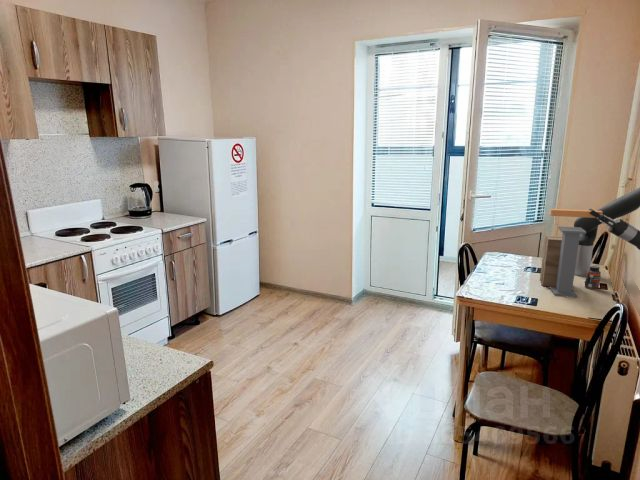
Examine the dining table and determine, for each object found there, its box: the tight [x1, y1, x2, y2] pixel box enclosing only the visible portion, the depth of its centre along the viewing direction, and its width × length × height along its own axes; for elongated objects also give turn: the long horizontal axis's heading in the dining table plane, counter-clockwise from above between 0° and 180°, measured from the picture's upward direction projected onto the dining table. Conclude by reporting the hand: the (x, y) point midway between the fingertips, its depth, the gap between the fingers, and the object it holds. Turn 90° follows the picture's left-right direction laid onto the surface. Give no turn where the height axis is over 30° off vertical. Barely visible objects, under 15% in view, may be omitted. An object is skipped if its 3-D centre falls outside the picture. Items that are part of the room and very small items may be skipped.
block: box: [549, 208, 603, 218], centre depth 209 cm, size 3×22×3 cm, turn 71°
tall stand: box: [549, 225, 586, 298], centre depth 208 cm, size 10×10×32 cm
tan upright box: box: [539, 234, 562, 288], centre depth 221 cm, size 10×12×25 cm
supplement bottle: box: [584, 265, 602, 290], centre depth 217 cm, size 6×6×11 cm
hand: (589, 211), depth 207 cm, fingers closed on block, 3 cm apart
